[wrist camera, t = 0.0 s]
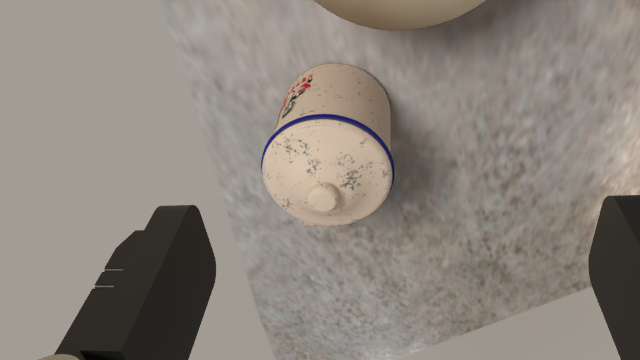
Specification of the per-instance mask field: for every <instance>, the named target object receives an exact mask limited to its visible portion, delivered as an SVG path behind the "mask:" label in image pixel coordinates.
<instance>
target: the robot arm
mask: <svg viewBox="0 0 640 360" xmlns="http://www.w3.org/2000/svg"><path fill="white" fill-rule="evenodd" d="M589 276H590V281H591V284H592V287H593V290H594V293H595V295H596V298H597V300H598V303H599V305H600V308H601V310H602V312H603V315H604V317H605V320H606V323H607V325H608V328H609V330H610V333H611V335H612V338H613V340H614V343H615V345H616V348H617V350H618V353H619V355H620V358H621V360H640V195H625V196H607V197H606V198H605V199H604V201H603V204H602V207H601V211H600V215H599V219H598V223H597V227H596V230H595V234H594V238H593V242H592V246H591V250H590V254H589ZM215 277H216V261H215V257H214V253H213V250H212V247H211V244H210V241H209V238H208V235H207V232H206V229H205V226H204V223H203V220H202V217H201V214H200V212H199V209H198V208H197V207H196V206H195V205H180V206H159V207H158V208H157V209H156V210H155V212H154V213H153V215H152V217H151V219H150V221H149V222H148V224H147V226H146V228H145V230H144V231H143V230H141V231H134V232H133V233H132V234H131V235H130V236H129V237H128V238H127V239H126V240H124V241H123V242H122V243H121V244H120V245H119V246H118V247H117V248H116V249H115V251H114V253H113V254H112V256H111V258H110V260H109V261H108V263H107V265H106V266H105V272H102V273H101V275H100V277H99V278H98V280H97V282H96V284H95V289H92V290H91V292H90V294H89V296H88V297H87V299H86V301H85V303H84V304H83V306H82V308H81V310H80V311H79V313H78V315H77V316H76V318H75V320H74V322H73V323H72V325H71V327H70V328H69V330H68V332H67V334H66V335H65V337H64V339H63V340H62V342H61V344H60V346H59V347H58V349H57V351H56V352H55V354H54V355H51V356H48V357H44V358H42V359H39V360H188V359H189V356H190V353H191V350H192V347H193V344H194V341H195V339H196V336H197V333H198V330H199V327H200V324H201V321H202V318H203V316H204V312H205V310H206V307H207V304H208V301H209V298H210V295H211V292H212V289H213V287H214V283H215Z"/></svg>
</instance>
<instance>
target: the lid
mask: <svg viewBox="0 0 640 360" xmlns="http://www.w3.org/2000/svg"><path fill="white" fill-rule="evenodd" d="M314 1H315V2H317V3H318V4H319V5H321V6H322V7H324V8H325V9H326V10H328V11H330V12H332V13H333V14H335V15H337V16H339V17H341V18H343V19H345V20H348V21H350V22H353V23H355V24H358V25H362V26H366V27H370V28H375V29H383V30H413V29H420V28H426V27H430V26H434V25H438V24H441V23H444V22H446V21H449V20H452V19H454V18H457V17H459V16H461V15H463V14H464V13H466V12H468V11H470V10H472V9H474V8H475V7H477V6H478V5H480V4H481V3H483V2H484V1H486V0H314Z"/></svg>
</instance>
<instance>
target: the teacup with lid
mask: <svg viewBox="0 0 640 360" xmlns="http://www.w3.org/2000/svg"><path fill="white" fill-rule="evenodd" d="M261 168H262V175H263V179H264V183H265V185H266V188H267V190H268V192H269V193H270V195H271V196H272V198H273V199H274V200H275V202H276V203H277V204H278V205H279V206H280V207H281V208H282V209H284V210H285V211H286V212H288V213H289V214H291V215H292V216H294V217H296V218H298V219H301V220H302V221H303V224H304V225H305V226H309V227H316V226H317V225H325V226H337V225H345V224H350V223H353V222H356V221H359V220H361V219H363V218H365V217H367V216H368V215H370V214H371V213H373V212H374V211H375V210H376V209H378V208H379V207H380V206H381V204H382V203H383V202H384V201H385V199H386V197H387V196H388V194H389V192H390V190H391V188H392V185H393V180H394V164H393V159H392V156H391V112H390V104H389V100H388V97H387V95H386V93H385V91H384V89H383V88H382V86H381V85H380V84H379V83H378V81H377V80H376V79H375V78H373V77H372V76H371V75H370V74H368V73H367V72H365V71H363V70H361V69H359V68H356V67H354V66H350V65H346V64H324V65H320V66H317V67H314V68H311V69H309V70H307V71H306V72H304V73H303V74H301V75H300V76H299V77H298V78H297V79H296V80H295V81H294V82H293V83H292V85H291V86H290V87H289V89H288V91H287V93H286V96H285V99H284V102H283V105H282V108H281V111H280V114H279V117H278V120H277V123H276V127H275V130H274V133H273V135H272V137H271V138H270V139H269V141H268V143H267V145H266V146H265V149H264V152H263V156H262V162H261Z"/></svg>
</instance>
